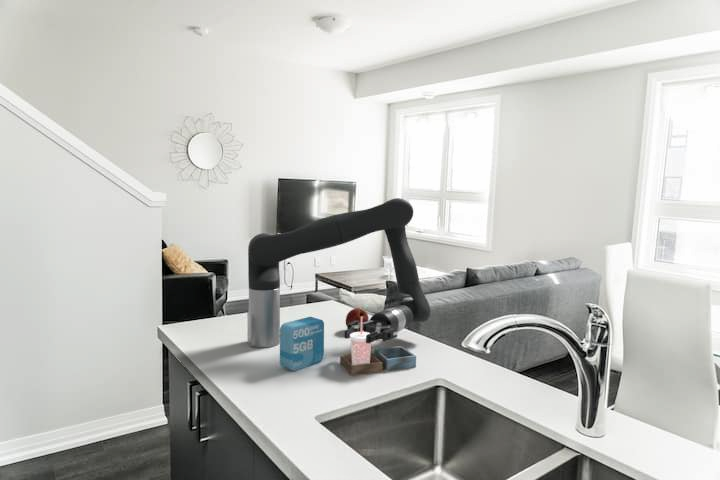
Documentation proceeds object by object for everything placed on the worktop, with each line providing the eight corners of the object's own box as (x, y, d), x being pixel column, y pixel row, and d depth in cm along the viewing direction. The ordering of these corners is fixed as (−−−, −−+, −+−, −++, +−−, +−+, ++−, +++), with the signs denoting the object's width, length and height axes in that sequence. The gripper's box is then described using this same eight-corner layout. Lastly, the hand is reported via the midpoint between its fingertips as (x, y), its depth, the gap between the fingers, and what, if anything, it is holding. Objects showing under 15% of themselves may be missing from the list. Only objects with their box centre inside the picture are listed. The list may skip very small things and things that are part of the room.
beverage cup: (345, 365, 132) (346, 314, 130) (366, 362, 134) (367, 312, 133) (354, 373, 126) (355, 320, 125) (376, 370, 129) (377, 318, 127)
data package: (290, 372, 126) (290, 327, 125) (279, 368, 129) (279, 323, 128) (324, 361, 135) (324, 318, 134) (313, 357, 138) (313, 315, 137)
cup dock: (351, 375, 125) (351, 364, 125) (340, 364, 133) (340, 353, 132) (415, 366, 132) (416, 356, 132) (401, 356, 140) (401, 346, 139)
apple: (352, 336, 157) (352, 312, 157) (341, 329, 164) (341, 306, 163) (371, 333, 161) (372, 309, 160) (360, 327, 168) (360, 304, 167)
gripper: (367, 306, 145) (334, 318, 131) (410, 314, 137) (380, 328, 123) (366, 330, 146) (333, 345, 132) (409, 339, 138) (379, 356, 124)
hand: (356, 337), depth 127 cm, fingers closed on beverage cup, 6 cm apart
